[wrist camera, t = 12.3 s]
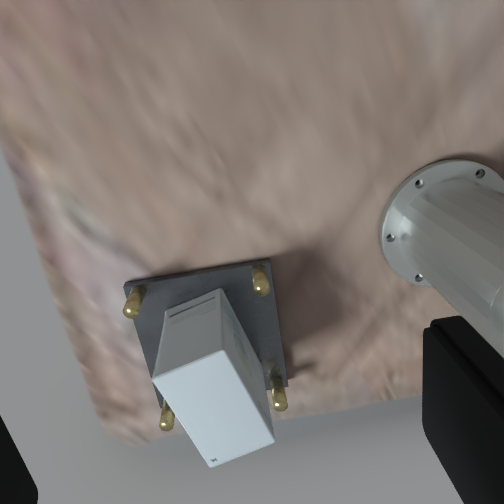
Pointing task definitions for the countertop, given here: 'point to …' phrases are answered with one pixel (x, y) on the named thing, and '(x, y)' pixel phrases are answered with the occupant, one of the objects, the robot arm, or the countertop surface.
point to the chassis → (242, 302)
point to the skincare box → (213, 379)
